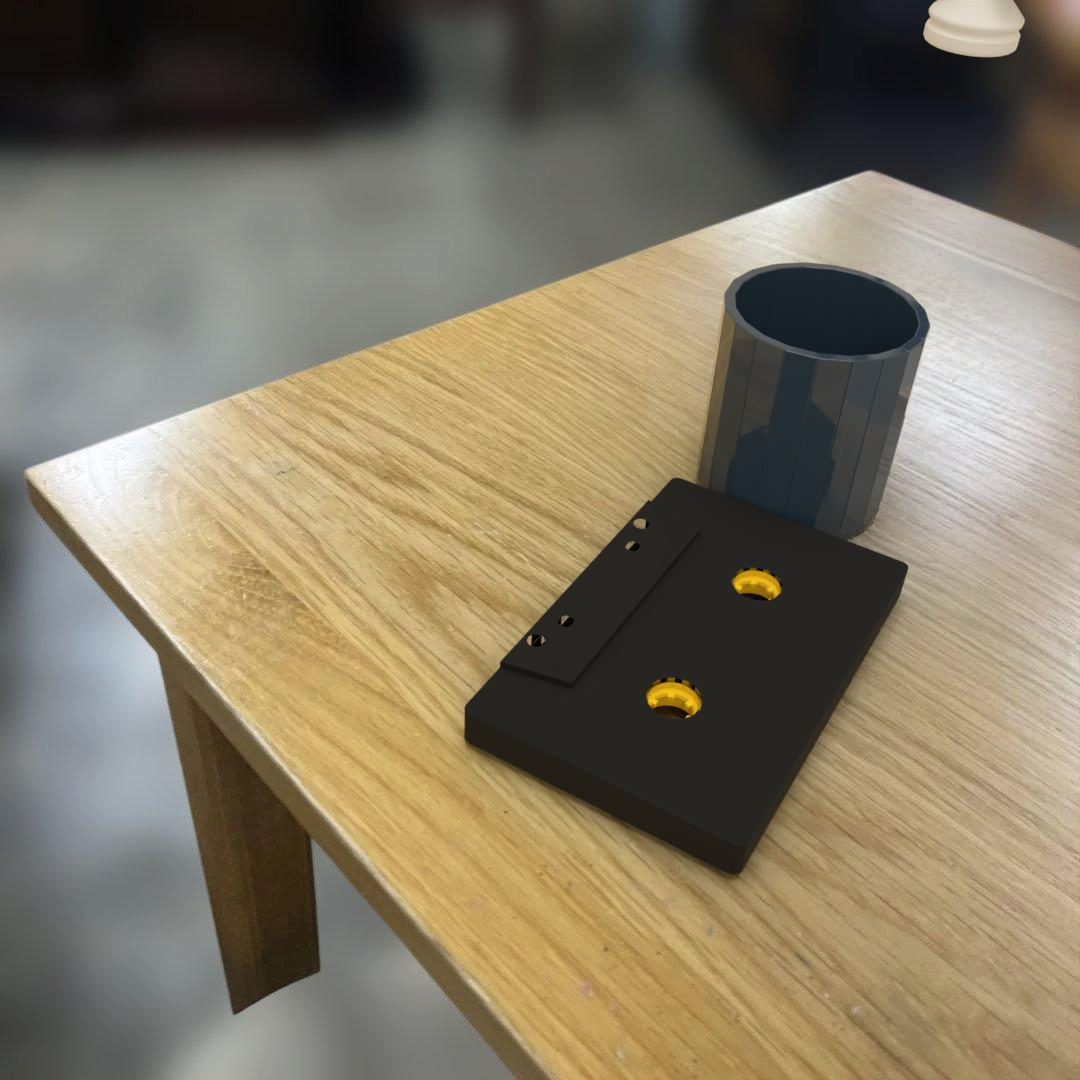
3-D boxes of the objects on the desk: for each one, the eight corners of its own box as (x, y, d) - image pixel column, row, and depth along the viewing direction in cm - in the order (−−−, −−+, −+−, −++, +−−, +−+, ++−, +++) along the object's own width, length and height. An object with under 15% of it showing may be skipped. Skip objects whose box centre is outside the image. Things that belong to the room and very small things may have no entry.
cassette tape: (669, 507, 59) (675, 470, 58) (900, 596, 55) (912, 559, 53) (460, 743, 47) (460, 704, 45) (736, 883, 42) (746, 844, 41)
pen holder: (761, 417, 66) (794, 244, 59) (912, 489, 61) (965, 310, 55) (659, 488, 60) (684, 306, 54) (817, 572, 56) (864, 384, 49)
